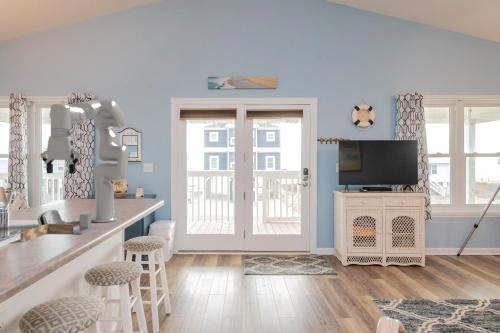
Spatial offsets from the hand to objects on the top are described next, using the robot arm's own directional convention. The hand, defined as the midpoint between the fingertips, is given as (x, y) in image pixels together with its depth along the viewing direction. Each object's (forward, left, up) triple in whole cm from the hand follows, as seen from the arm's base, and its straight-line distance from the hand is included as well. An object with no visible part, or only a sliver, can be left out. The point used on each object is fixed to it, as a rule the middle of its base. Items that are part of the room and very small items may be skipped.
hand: (60, 173), depth 143 cm
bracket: (-13, +2, -28) cm, 31 cm away
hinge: (-20, -17, -29) cm, 38 cm away
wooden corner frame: (-3, -7, -28) cm, 29 cm away
